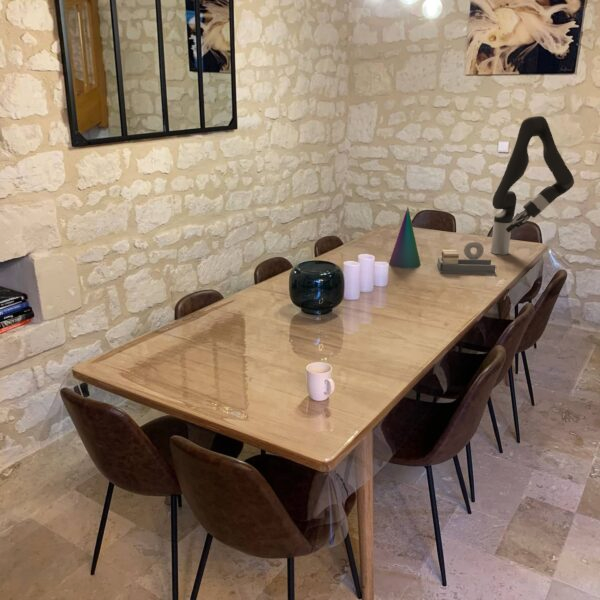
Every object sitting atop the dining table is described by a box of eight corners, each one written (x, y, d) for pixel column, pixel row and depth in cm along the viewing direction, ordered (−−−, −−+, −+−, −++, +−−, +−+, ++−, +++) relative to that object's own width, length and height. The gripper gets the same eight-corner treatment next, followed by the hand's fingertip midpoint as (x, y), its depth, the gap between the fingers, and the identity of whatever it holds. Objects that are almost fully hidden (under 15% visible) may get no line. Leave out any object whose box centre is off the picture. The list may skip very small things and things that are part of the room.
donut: (482, 259, 308) (484, 240, 304) (482, 261, 305) (484, 242, 301) (462, 258, 310) (464, 239, 307) (462, 260, 307) (464, 241, 304)
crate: (440, 265, 294) (441, 249, 292) (455, 265, 294) (456, 249, 291) (442, 269, 287) (443, 253, 285) (457, 269, 287) (459, 253, 284)
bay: (436, 265, 298) (437, 255, 296) (489, 266, 296) (490, 256, 294) (440, 273, 285) (441, 263, 283) (495, 274, 283) (496, 264, 281)
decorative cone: (426, 263, 302) (430, 205, 292) (409, 270, 291) (413, 210, 280) (400, 257, 312) (403, 201, 302) (382, 264, 301) (385, 206, 291)
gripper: (527, 197, 282) (498, 222, 288) (535, 202, 270) (504, 228, 275) (537, 208, 284) (508, 233, 289) (545, 213, 271) (515, 239, 277)
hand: (507, 230), depth 282 cm, fingers closed
